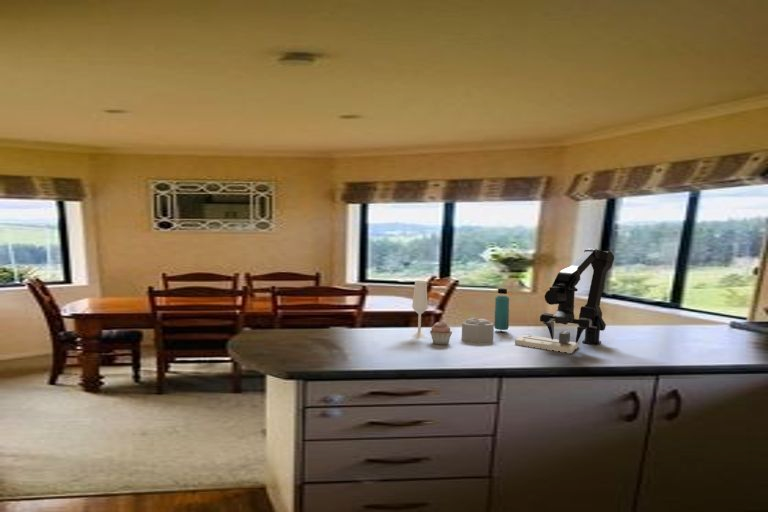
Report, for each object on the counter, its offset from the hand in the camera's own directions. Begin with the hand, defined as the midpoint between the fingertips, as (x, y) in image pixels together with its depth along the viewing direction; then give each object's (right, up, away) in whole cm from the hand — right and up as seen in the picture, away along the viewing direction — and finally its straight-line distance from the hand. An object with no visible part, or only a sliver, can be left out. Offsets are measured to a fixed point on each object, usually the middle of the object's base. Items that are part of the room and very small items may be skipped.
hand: (564, 341), depth 189 cm
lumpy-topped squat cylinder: (-33, -2, +13) cm, 35 cm away
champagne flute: (-57, -1, +16) cm, 59 cm away
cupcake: (-49, -2, +4) cm, 49 cm away
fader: (0, -1, 0) cm, 0 cm away
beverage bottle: (-18, -1, +28) cm, 34 cm away
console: (-6, -3, +4) cm, 8 cm away
